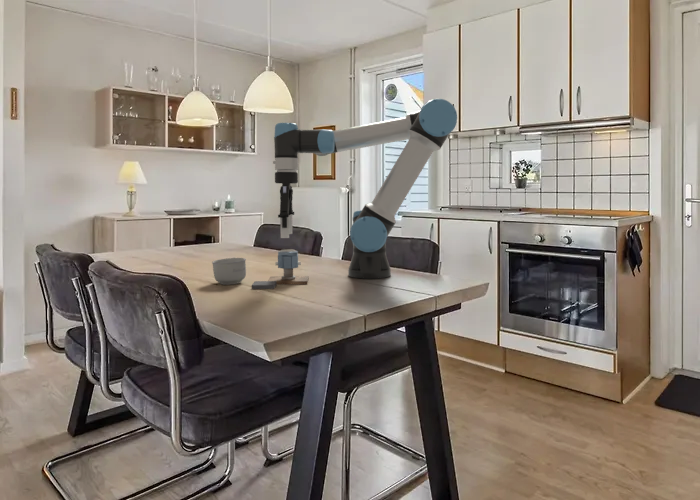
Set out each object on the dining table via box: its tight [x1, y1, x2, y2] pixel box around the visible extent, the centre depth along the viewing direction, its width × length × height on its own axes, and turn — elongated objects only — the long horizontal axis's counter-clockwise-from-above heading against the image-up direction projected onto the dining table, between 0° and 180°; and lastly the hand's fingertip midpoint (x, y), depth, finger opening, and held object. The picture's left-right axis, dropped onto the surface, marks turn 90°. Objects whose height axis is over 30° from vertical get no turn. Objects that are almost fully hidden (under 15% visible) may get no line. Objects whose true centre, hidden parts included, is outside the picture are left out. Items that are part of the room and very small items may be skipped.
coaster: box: [251, 280, 278, 290], centre depth 171 cm, size 7×7×1 cm
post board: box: [267, 268, 309, 286], centre depth 179 cm, size 13×10×9 cm
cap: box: [275, 249, 302, 270], centre depth 179 cm, size 8×7×6 cm
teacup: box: [211, 257, 247, 286], centre depth 179 cm, size 14×11×8 cm
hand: (286, 236), depth 178 cm, fingers open, 13 cm apart
